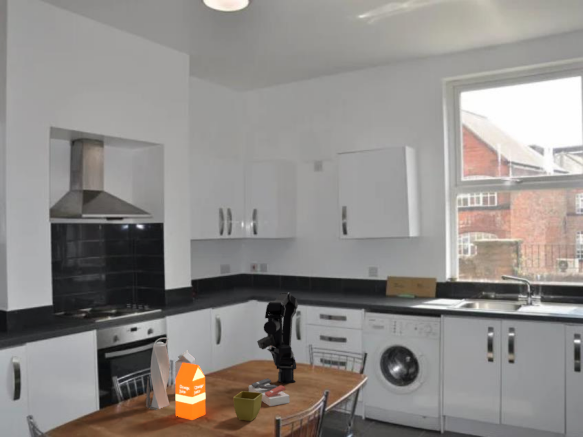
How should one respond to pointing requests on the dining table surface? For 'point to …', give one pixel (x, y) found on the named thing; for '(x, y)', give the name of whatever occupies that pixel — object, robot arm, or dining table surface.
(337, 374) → the dining table surface
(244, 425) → the dining table surface
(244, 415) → the flower pot
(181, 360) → the milk carton
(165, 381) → the skyscraper
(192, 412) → the orange juice
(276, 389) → the rocker red
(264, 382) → the rocker near
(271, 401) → the power strip
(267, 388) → the rocker middle
